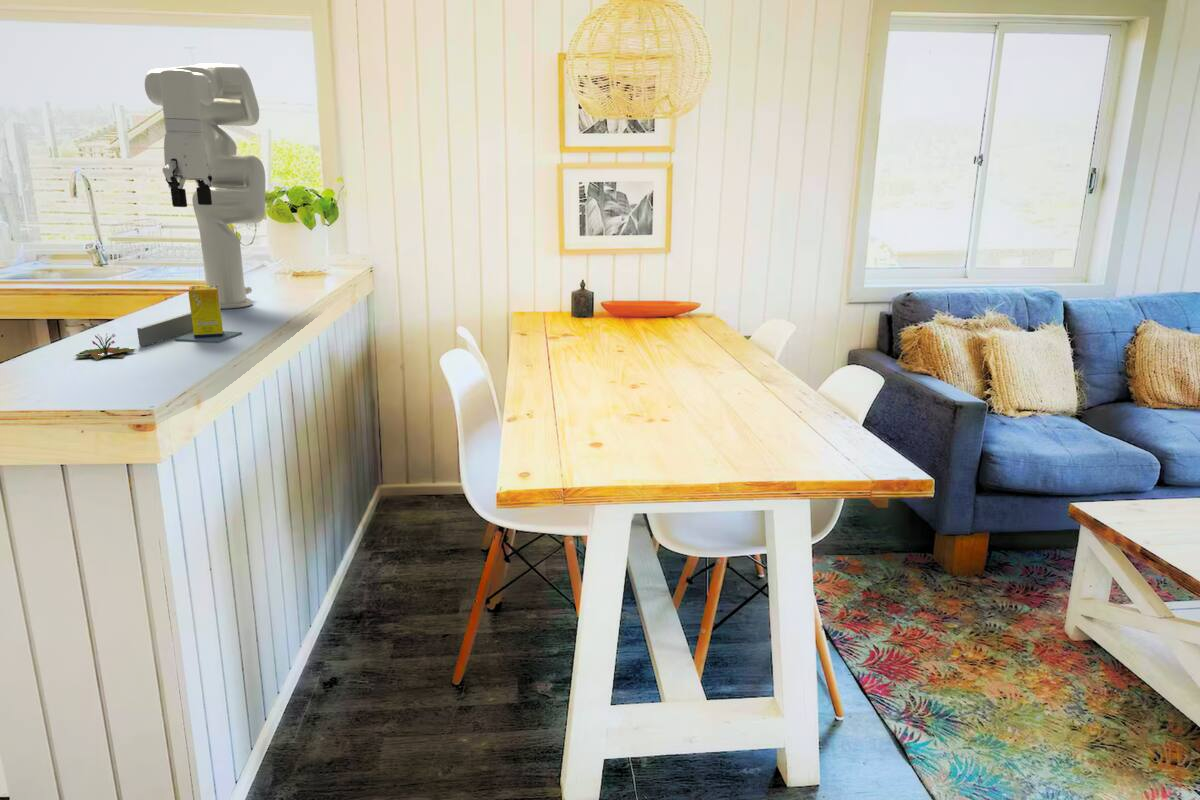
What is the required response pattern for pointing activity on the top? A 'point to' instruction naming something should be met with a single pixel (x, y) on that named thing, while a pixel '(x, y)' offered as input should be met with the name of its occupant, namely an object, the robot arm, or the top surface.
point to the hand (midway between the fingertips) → (192, 205)
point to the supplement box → (205, 311)
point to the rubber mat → (213, 339)
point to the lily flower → (104, 350)
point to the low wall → (164, 329)
